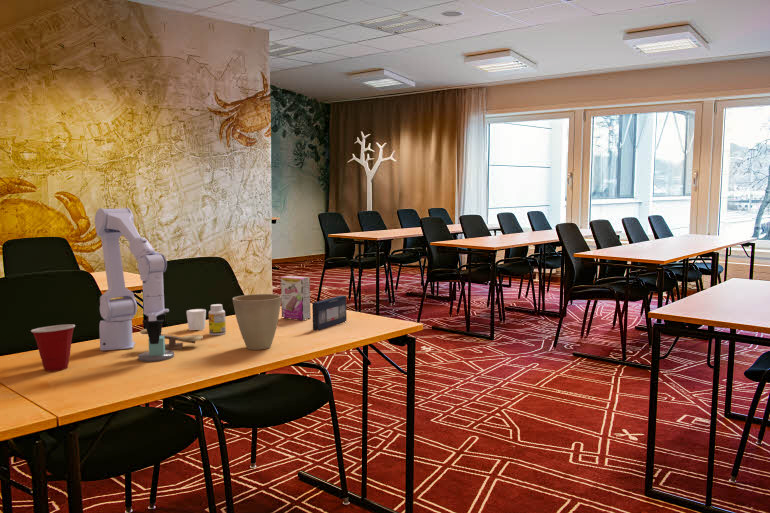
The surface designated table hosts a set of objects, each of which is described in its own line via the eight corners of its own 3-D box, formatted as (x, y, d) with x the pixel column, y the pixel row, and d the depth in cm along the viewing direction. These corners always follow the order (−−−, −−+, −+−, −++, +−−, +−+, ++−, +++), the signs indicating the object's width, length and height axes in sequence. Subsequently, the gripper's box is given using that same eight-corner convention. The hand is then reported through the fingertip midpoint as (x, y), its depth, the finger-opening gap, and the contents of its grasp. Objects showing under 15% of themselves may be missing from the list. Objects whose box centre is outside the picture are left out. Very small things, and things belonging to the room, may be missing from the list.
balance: (140, 352, 188) (139, 332, 187) (142, 348, 194) (141, 328, 193) (203, 348, 193) (202, 328, 192) (203, 343, 199) (202, 324, 198)
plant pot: (290, 343, 198) (289, 294, 196) (269, 354, 184) (268, 301, 182) (248, 340, 202) (247, 292, 200) (225, 351, 188) (223, 300, 186)
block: (149, 356, 179) (148, 339, 179) (151, 352, 183) (150, 336, 182) (163, 355, 180) (163, 338, 180) (165, 352, 184) (164, 335, 183)
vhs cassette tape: (318, 330, 217) (317, 303, 216) (311, 330, 218) (310, 302, 218) (347, 321, 232) (347, 295, 232) (341, 321, 234) (341, 295, 233)
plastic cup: (67, 361, 178) (64, 320, 177) (84, 367, 171) (82, 325, 170) (26, 369, 170) (23, 327, 169) (43, 376, 163) (40, 331, 162)
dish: (136, 363, 175) (136, 359, 175) (140, 354, 185) (139, 351, 185) (173, 360, 178) (173, 356, 178) (175, 352, 188) (174, 348, 188)
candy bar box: (280, 318, 241) (279, 277, 239) (289, 316, 245) (288, 275, 243) (303, 321, 235) (301, 278, 233) (311, 318, 239) (310, 277, 238)
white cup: (203, 331, 218) (202, 311, 218) (184, 331, 219) (183, 312, 218) (209, 327, 225) (208, 308, 225) (190, 327, 225) (189, 308, 225)
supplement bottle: (209, 333, 215) (207, 304, 214) (225, 331, 217) (224, 303, 216) (209, 336, 210) (208, 306, 209) (226, 335, 211) (225, 305, 211)
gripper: (166, 298, 174) (168, 345, 175) (169, 291, 188) (171, 334, 189) (139, 299, 172) (142, 347, 173) (144, 292, 186) (146, 336, 187)
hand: (155, 340), depth 181 cm, fingers open, 7 cm apart
